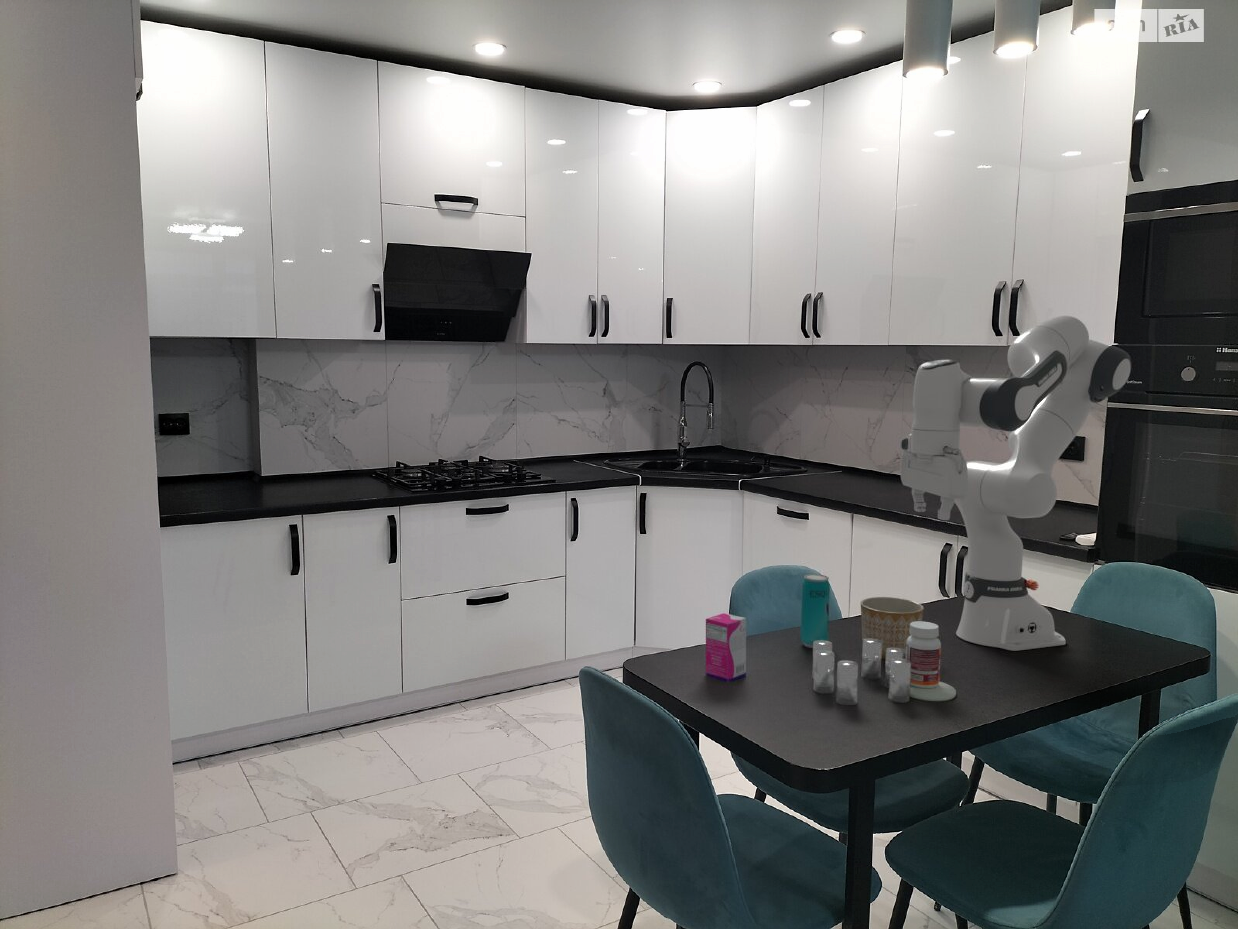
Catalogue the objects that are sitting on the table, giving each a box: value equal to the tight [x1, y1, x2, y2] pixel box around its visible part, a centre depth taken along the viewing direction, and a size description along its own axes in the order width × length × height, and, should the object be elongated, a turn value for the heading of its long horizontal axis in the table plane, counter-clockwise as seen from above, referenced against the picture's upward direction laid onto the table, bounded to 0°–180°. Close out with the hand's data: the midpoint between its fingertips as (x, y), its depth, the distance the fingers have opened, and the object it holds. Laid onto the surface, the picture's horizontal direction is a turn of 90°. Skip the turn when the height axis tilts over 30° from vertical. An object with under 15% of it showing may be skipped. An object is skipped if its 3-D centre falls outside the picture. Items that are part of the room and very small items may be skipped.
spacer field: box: [811, 638, 911, 706], centre depth 168 cm, size 18×16×7 cm
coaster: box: [909, 681, 957, 702], centre depth 168 cm, size 10×10×1 cm
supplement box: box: [705, 612, 747, 683], centre depth 175 cm, size 6×6×12 cm
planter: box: [860, 596, 925, 660], centre depth 189 cm, size 13×13×10 cm
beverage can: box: [800, 573, 831, 649], centre depth 194 cm, size 6×6×15 cm
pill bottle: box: [906, 620, 942, 688], centre depth 169 cm, size 6×6×11 cm
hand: (931, 515), depth 176 cm, fingers open, 8 cm apart
